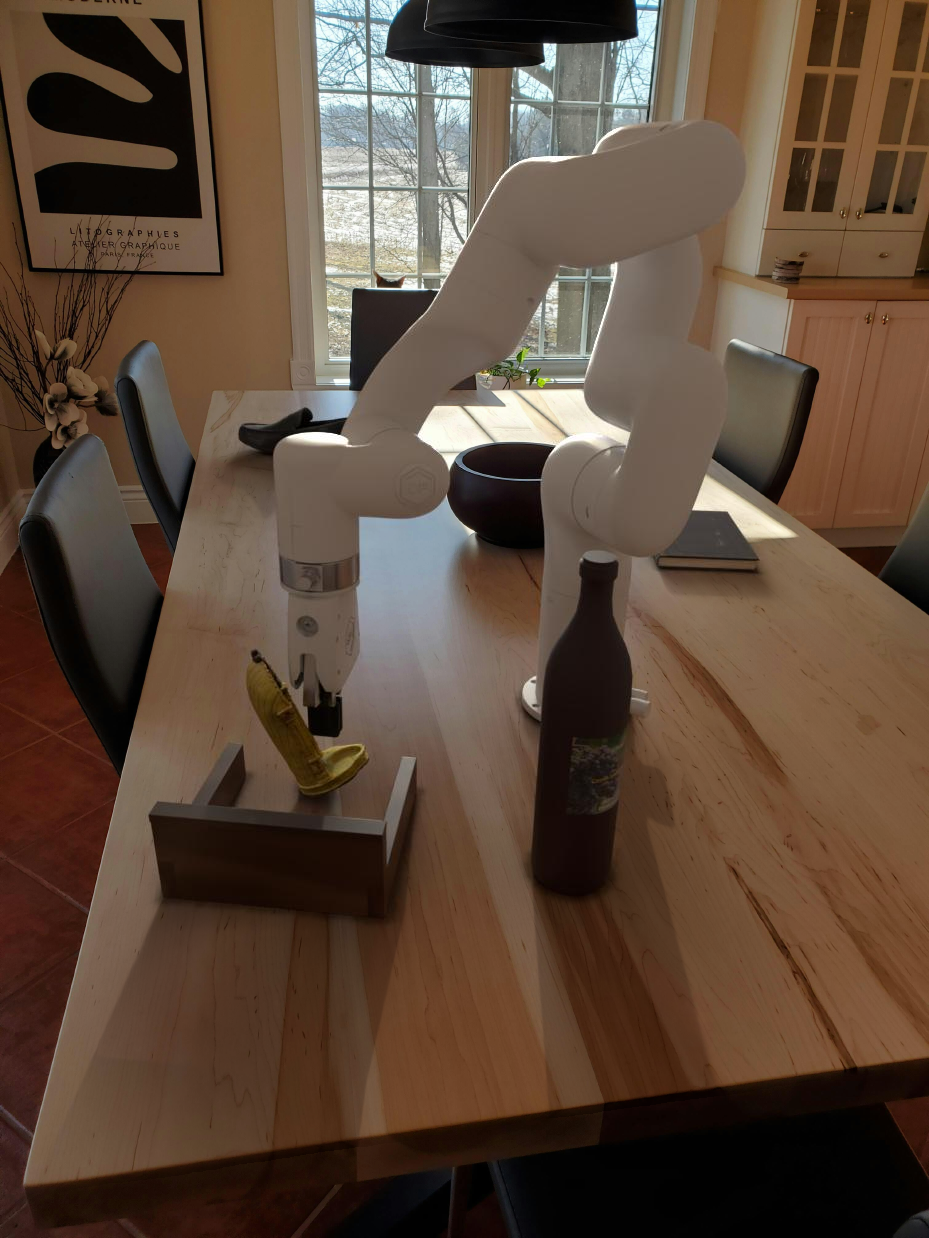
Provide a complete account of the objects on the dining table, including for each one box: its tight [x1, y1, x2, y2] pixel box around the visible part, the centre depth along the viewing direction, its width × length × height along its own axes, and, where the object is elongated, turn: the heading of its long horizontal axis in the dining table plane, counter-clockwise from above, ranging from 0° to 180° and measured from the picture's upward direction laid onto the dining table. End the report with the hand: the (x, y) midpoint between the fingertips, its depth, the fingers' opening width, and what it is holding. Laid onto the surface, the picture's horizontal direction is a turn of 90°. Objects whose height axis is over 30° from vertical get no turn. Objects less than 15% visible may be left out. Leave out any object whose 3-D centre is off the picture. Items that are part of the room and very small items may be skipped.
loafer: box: [237, 406, 348, 454], centre depth 197 cm, size 10×29×10 cm, turn 82°
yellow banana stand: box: [245, 648, 370, 799], centre depth 87 cm, size 12×8×15 cm
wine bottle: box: [530, 550, 634, 896], centre depth 73 cm, size 7×7×30 cm
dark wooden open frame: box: [147, 742, 418, 919], centre depth 81 cm, size 18×19×9 cm
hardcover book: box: [652, 509, 761, 573], centre depth 153 cm, size 16×23×2 cm
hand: (325, 732), depth 92 cm, fingers closed
